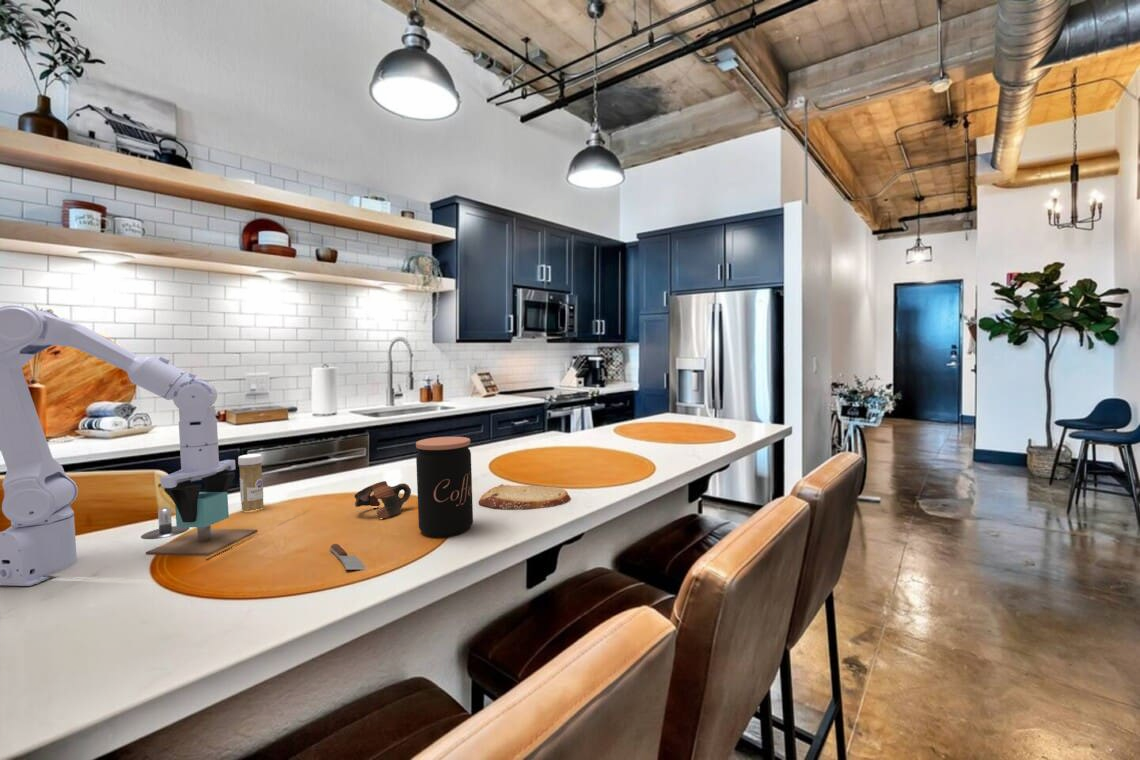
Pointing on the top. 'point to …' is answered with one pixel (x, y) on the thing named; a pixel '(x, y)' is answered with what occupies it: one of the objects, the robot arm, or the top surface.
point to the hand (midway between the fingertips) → (203, 516)
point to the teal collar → (207, 510)
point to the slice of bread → (523, 497)
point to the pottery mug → (383, 498)
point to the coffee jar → (444, 486)
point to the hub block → (202, 542)
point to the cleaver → (346, 558)
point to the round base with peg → (164, 526)
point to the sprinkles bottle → (251, 481)
